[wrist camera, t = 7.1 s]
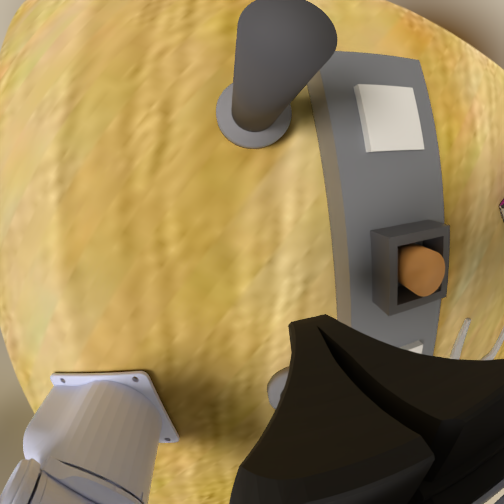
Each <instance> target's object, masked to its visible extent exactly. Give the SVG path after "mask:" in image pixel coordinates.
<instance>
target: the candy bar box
mask: <svg viewBox="0 0 504 504" xmlns="http://www.w3.org/2000/svg"><path fill="white" fill-rule="evenodd" d="M499 208H500V212H501V216H502V218H503V221H504V199H503V201H502V202H501V204H500V205H499Z"/></svg>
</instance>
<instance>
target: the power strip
mask: <svg viewBox="0 0 504 504" xmlns="http://www.w3.org/2000/svg"><path fill="white" fill-rule="evenodd" d="M307 86H308V91H309V96H310V100H311V105H312V110H313V115H314V120H315V126H316V131H317V137H318V142H319V148H320V154H321V161H322V167H323V174H324V180H325V187H326V195H327V202H328V211H329V219H330V228H331V237H332V247H333V258H334V271H335V284H336V300H337V320H338V321H340V322H342V323H344V324H346V325H347V326H349V327H351V328H353V329H355V330H357V331H359V332H361V333H363V334H366V335H368V336H370V337H372V338H375V339H377V340H380V341H382V342H385V343H387V344H390V345H392V346H395V347H398V348H402V349H405V350H409V351H412V352H416V353H420V354H425V355H430V356H433V351H434V346H435V340H436V334H437V327H438V321H439V313H440V304H441V298H444V297H446V294H447V283H448V269H449V245H450V225H447V224H444V201H443V186H442V174H441V165H440V156H439V149H438V142H437V136H436V130H435V124H434V119H433V114H432V109H431V104H430V100H429V96H428V91H427V87H426V83H425V80H424V76H423V72H422V69H421V65H420V62H419V60H414V59H409V58H402V57H396V56H388V55H380V54H370V53H359V52H342V51H335V52H334V54H333V55H332V57H331V58H330V59H329V60H328V61H327V62H326V63H325V64H324V66H323V67H322V68H321V69H320V70H319V71H318V72H317V73H316V74H315V75H314V77H313V78H312V79H311V80H310V81H309V82H308V83H307ZM410 243H416V244H419V245H421V246H424V247H426V248H428V249H431V250H433V251H436V252H438V253H439V254H441V256H442V257H443V259H444V262H445V274H444V278H443V280H442V282H441V284H440V286H439V287H438V289H437V290H436V291H435V292H434V293H432V294H431V295H428V296H425V297H422V296H418V295H417V294H415V293H414V292H412V291H411V290H409V289H408V288H406V287H405V286H403V285H402V284H400V283H399V282H398V246H401V245H406V244H410Z"/></svg>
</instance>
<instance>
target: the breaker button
mask: <svg viewBox="0 0 504 504" xmlns="http://www.w3.org/2000/svg"><path fill="white" fill-rule="evenodd" d="M444 274H445V262H444V259H443V257H442V256H441V254H439V253H438V252H436V251H433V250H431V249H428V248H426V247H424V246H421V245H419V244H416V243H410V244H406V245H401V246H398V282H399V283H400V284H402V285H403V286H405V287H406V288H408V289H409V290H411V291H412V292H414V293H415V294H417V295H418V296H422V297H425V296H428V295H431V294H432V293H434V292H435V291H436V290H437V289H438V287H439V286H440V284H441V282H442V280H443V278H444Z"/></svg>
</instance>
